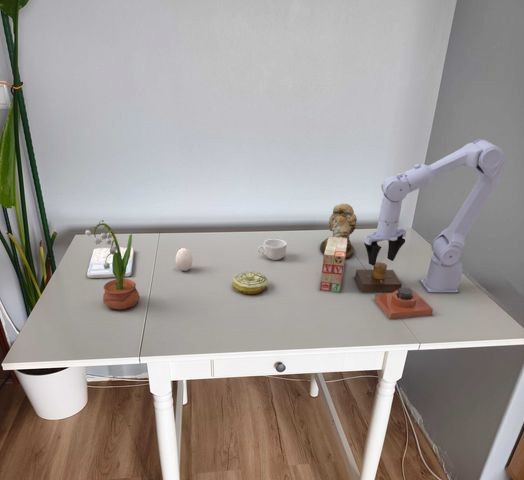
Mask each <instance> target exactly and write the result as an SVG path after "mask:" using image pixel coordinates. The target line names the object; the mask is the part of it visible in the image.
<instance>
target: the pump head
mask: <svg viewBox="0 0 524 480" xmlns="http://www.w3.org/2000/svg"><path fill="white" fill-rule="evenodd" d="M413 291H414V290H413V289H411V288H409V287H401V288H400V289H399V290H398V295H397V296H398V297H399V298H401V299H404V300H410V299H411V298H412V294H413Z"/></svg>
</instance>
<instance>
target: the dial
mask: <svg viewBox="0 0 524 480" xmlns="http://www.w3.org/2000/svg"><path fill="white" fill-rule="evenodd" d="M372 267H373V268H372V270H373V273H372V277H373V278H375V279H384V278H385V275H386V270H388V265H387V263H385V262H381V261H376V263H375V266H372Z"/></svg>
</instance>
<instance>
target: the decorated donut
mask: <svg viewBox="0 0 524 480" xmlns="http://www.w3.org/2000/svg"><path fill="white" fill-rule="evenodd" d="M269 285H270V283H269V279H268V277H267V276H266V275H265V274H263V273H261V272H259V271H243V272H239V273H237V274H236V275H235V274H234V276H233V278H232V286H233V287H234V289H236V291H237V292H239V293H242V294H245V295H255V294H259V293H262V292H263V291H264V290H265V289H266V288H267V287H269Z"/></svg>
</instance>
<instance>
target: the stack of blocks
mask: <svg viewBox="0 0 524 480" xmlns="http://www.w3.org/2000/svg"><path fill="white" fill-rule="evenodd" d="M327 238H328V240H327V246H326V249H325V252H324V254H323V260H322V269H321V280H320V285H319V291H324V292H333V293H340V292H341V288H342V284H343V277H344V271H345V264H346V260H345V256H346V249H347V238H340V237H333V236H328V237H327Z"/></svg>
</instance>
